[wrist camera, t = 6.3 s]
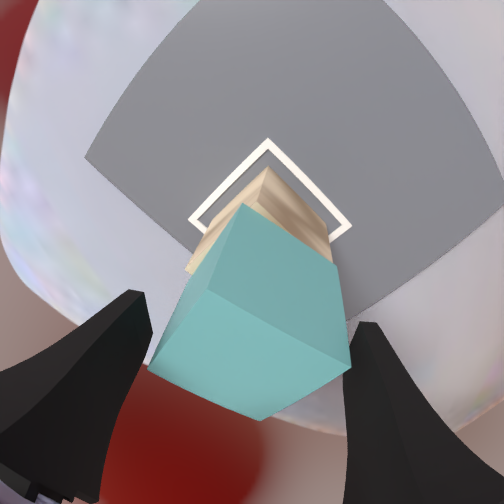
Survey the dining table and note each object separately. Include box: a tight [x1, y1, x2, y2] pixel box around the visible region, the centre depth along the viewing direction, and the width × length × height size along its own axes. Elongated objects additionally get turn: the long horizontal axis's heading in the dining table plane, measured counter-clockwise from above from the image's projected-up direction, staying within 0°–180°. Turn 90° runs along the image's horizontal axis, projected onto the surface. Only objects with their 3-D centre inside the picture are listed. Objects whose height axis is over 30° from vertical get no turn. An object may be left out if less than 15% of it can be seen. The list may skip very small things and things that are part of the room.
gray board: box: [84, 0, 504, 321], centre depth 15 cm, size 20×18×1 cm
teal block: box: [147, 203, 351, 421], centre depth 10 cm, size 4×4×5 cm
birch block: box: [185, 166, 333, 275], centre depth 15 cm, size 4×4×5 cm
